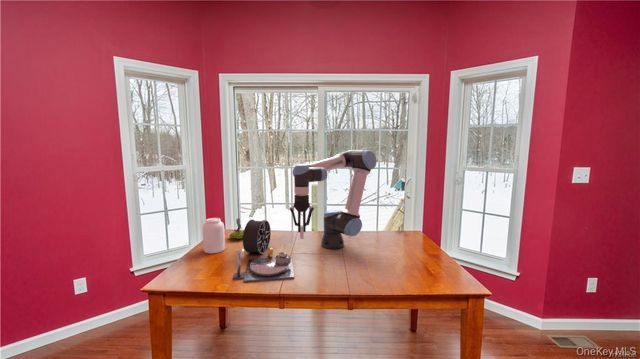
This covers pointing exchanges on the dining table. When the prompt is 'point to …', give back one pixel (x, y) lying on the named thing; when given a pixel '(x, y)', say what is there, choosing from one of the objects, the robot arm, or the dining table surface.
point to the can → (213, 236)
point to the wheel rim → (256, 236)
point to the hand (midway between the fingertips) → (301, 237)
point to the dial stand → (239, 274)
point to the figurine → (237, 231)
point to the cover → (283, 259)
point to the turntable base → (253, 277)
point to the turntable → (267, 265)
